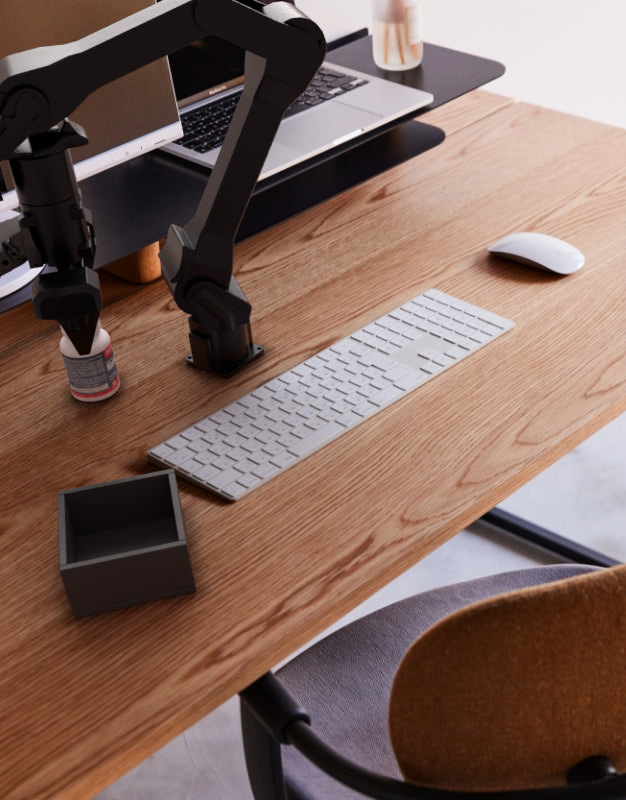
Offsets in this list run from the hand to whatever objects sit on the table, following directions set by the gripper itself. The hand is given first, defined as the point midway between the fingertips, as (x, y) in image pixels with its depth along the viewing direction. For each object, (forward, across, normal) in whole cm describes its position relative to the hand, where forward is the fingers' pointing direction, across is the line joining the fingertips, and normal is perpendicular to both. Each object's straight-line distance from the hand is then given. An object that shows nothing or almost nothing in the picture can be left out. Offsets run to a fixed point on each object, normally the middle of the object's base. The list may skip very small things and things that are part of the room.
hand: (83, 331), depth 111 cm
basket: (+7, +28, +2) cm, 29 cm away
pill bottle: (+8, 0, 0) cm, 8 cm away
